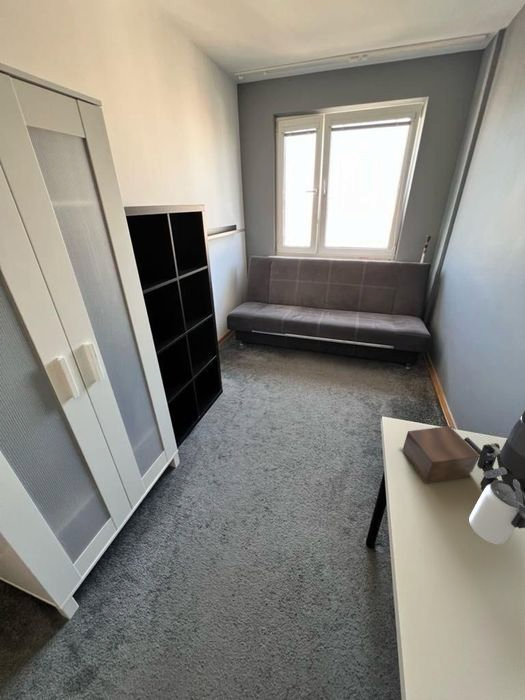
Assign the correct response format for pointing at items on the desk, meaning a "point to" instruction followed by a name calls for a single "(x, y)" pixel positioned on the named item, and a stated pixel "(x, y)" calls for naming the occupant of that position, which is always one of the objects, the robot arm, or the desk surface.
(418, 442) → the cabinet
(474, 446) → the drawer
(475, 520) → the can
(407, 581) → the desk surface
